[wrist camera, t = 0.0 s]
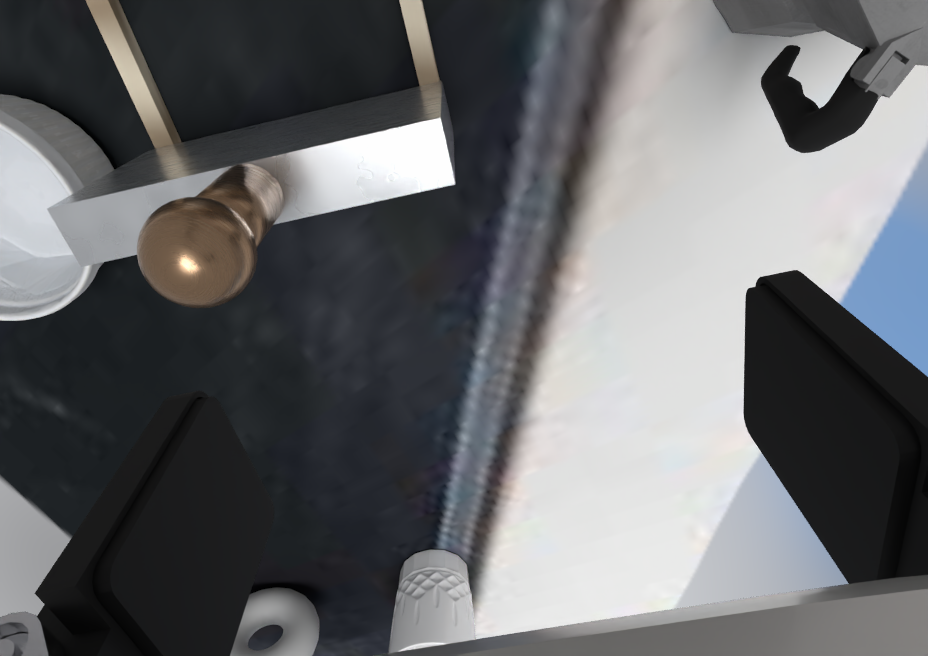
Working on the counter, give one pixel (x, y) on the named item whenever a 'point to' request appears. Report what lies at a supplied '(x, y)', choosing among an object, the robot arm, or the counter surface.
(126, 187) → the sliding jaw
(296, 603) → the light grey round disc
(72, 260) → the ramekin
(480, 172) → the counter surface
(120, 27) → the frame
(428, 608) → the white cup
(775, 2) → the coffeepot
